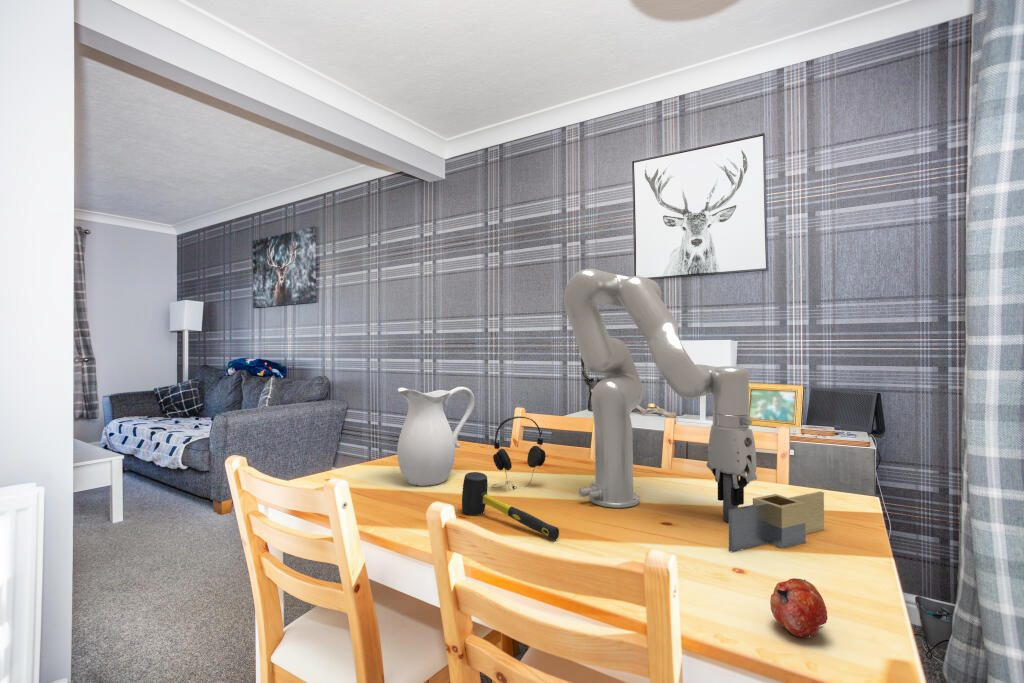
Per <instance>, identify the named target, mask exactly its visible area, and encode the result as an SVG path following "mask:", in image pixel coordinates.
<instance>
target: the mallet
mask: <svg viewBox="0 0 1024 683" xmlns="http://www.w3.org/2000/svg"><path fill="white" fill-rule="evenodd" d="M462 484H463V485H462V491H461V492H462V493H461V511H462V513H464V514H466V515H467V516H479V515H478V514H480V515H482V514H484V513H485V510H486V505H487V506H489V507H491V508H493V509H496V510H497V511H500V512H501V513H503V514H504V515H505V516H507V517H510V518H511V519H514V520H515V521H517V522H519V524H522V525H524V526H525V527H528V528H530V529H531V530H534V531H535V532H537V533H540V534H542V535H544V536H545V537H547V538H549V539H550V540H551V539H552V540H551V541H553V540H555V541H557V540H558V539H559V536H560V529H559V528H558V527H557V526H555V525H552V524H549V523H547V522H546V521H544V520H541V519H539V518H538V517H536V516H533V515H531V514H530V513H528V512H526V511H523V510H521V509H519V508H516V507H514V506H512V505H509V504H508V503H505V502H502V501H501V500H497V499H496V498H494V497H492V496H490V495H489V494H488V476H487V474H485V473H483V472H479V471H473V472H472V471H471V472H468V473H466V474H464V479H463V483H462ZM483 512H484V513H483ZM481 513H482V514H481ZM556 539H557V540H556Z"/></svg>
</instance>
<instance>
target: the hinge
mask: <svg viewBox="0 0 1024 683" xmlns="http://www.w3.org/2000/svg"><path fill="white" fill-rule="evenodd" d="M824 530H825V492H823V491H816V492H811V493H805V494H800V495H795V496H791V497H790V496H789V497H788V496H787V497H786V496H783V495H780V494H777V493H774V494H773V493H772V494H768V495H763V496H758V497H753V498H752V504H750V505H745V506H740V507H738V508H735V509H730V510H729V522H728V552H731V551H732V552H731V553H734V551H735V552H738V550H739V551H742V550H741V549H743V550H746V548H747V549H750V548H749V547H751V548H755V547H759V546H763V544H764V545H767V543H768V544H770V545H772V546H774V545H775V547H777V548H779V547H780V549H782V548H783V549H786V548H785V547H787V548H789V547H794V546H798V545H801V544H806V535H807V534H808V535H809V534H812V533H815V532H817V533H818V532H820V531H824Z"/></svg>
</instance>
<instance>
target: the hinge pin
mask: <svg viewBox="0 0 1024 683" xmlns="http://www.w3.org/2000/svg"><path fill="white" fill-rule="evenodd" d="M720 472H722V473H723V500H722V520H723V521H724V522H727V523H729V510H730V509H735V508H739V505H737V506H733V505H732V504H731V488H732V487H734V486H733V475H732V473H730V472H728V471H727V470H726V469H724V468H721V469H720Z"/></svg>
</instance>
